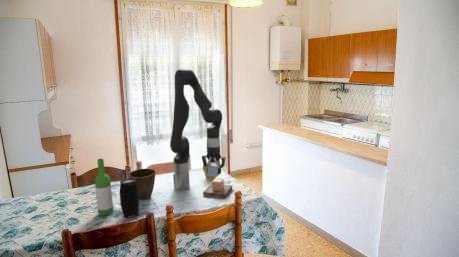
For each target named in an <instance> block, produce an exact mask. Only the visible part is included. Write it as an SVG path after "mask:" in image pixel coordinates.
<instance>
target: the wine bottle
mask: <svg viewBox="0 0 459 257" xmlns="http://www.w3.org/2000/svg"><path fill="white" fill-rule="evenodd" d="M104 162H105V161H104V158H98V159H97V170H98V175H96V177H95V178H94V186H95V188H94V189H95V196H96V205H97V207H96V208H97V212H98V214H99V215H101V216H107V215H111V214H112V213H113V212H114V201H113V194H112V193H113V191H112V182H111V178H110V176H109V175H108V174H107V173H106V172H105V170H106V169H105V163H104Z"/></svg>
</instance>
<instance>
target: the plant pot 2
mask: <svg viewBox="0 0 459 257" xmlns="http://www.w3.org/2000/svg"><path fill="white" fill-rule="evenodd" d="M211 164H216V163H211ZM202 171H203V172H204V176H205V179H206V180H207V181H213V180H214V179H215V178H217V177H214V176H208V173H207V167H206V166H204V165H203V164H202Z"/></svg>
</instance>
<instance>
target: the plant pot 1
mask: <svg viewBox="0 0 459 257" xmlns="http://www.w3.org/2000/svg"><path fill="white" fill-rule="evenodd" d="M128 177H129V178H135V179H136V183H137V187H138V195H139V202H140V201H142V202H144V201H148V200H150V199H151V198H152V195H153V191H154V187H155V182H156V181H155V180H156V170H155V169H152V168H139V169H135V170H133V171H131V172H129V174H128Z"/></svg>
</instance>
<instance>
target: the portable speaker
mask: <svg viewBox="0 0 459 257" xmlns="http://www.w3.org/2000/svg"><path fill="white" fill-rule="evenodd" d="M119 181H120V182H119V183H120V184H119V185H120V186H119V200H120V207H121V208H120V209H121V211H122V215H123V217H124V218H125V219H129V218H131V217H135V218H136V217H138V216H139V211H140V200H139V195H138V187H137V183H136V179H135V178H130V177H129V178H124V179H121V180H119Z"/></svg>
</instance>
